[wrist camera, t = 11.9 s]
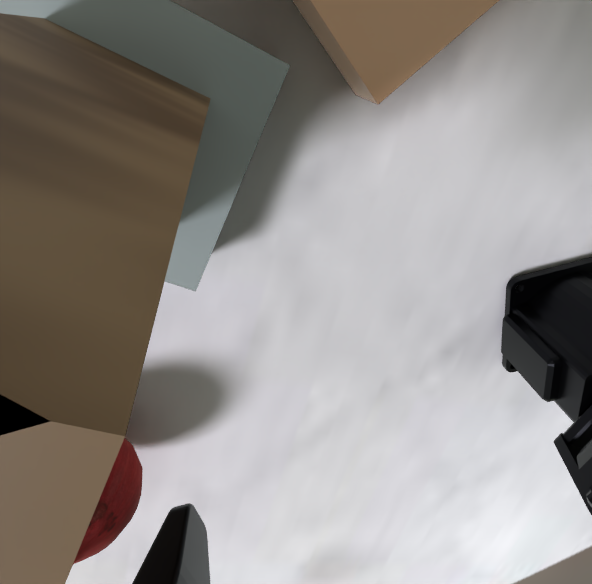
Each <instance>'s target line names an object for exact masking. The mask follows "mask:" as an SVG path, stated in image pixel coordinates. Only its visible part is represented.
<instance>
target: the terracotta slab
mask: <svg viewBox="0 0 592 584" xmlns="http://www.w3.org/2000/svg"><path fill="white" fill-rule="evenodd" d="M292 1H293V2H294V4H295V5H296V7H297V8H298V10H299V11H300V13H301V14H302V16H303V17H304V19H305V20H306V22H307V23H308V25H309V26H310V28H311V29H312V31H313V32H314V34H315V35H316V37H317V38H318V40H319V41H320V43H321V44H322V46H323V47H324V49H325V50H326V51H327V53H328V54H329V56H330V57H331V59H332V60H333V62H334V63H335V65H336V66H337V68H338V69H339V71H340V72H341V74H342V75H343V77H344V78H345V80H346V81H347V83H348V84H349V86H350V87H351V89H352V90H353V92H354V93H355V95H357V96H359V97H361V98H364V99H366V100H368V101H371V102H373V103H375V104H379V103H380V102H382V101H383V100H384V99H385V98H386V97H387V96H389V95H390V94H391V93H392V92H393V91H394V90H396V89H397V88H398V87H399V86H400V85H401V84H402V83H404V82H405V81H406V80H407V79H408V78H409V77H411V76H412V75H413V74H414V73H415V72H416V71H418V70H419V69H420V68H421V67H422V66H423V65H425V64H426V63H427V62H428V61H429V60H430V59H432V58H433V57H434V56H435V55H436V54H437V53H439V52H440V51H441V50H442V49H443V48H444V47H446V46H447V45H448V44H449V43H450V42H451V41H452V40H454V39H455V38H456V37H457V36H458V35H459V34H461V33H462V32H463V31H464V30H465V29H466V28H468V27H469V26H470V25H471V24H472V23H473V22H475V21H476V20H477V19H478V18H479V17H480V16H482V15H483V14H484V13H485V12H486V11H487V10H489V9H490V8H491V7H492V6H493V5H494V4H495V3H497V2H498V1H499V0H292Z"/></svg>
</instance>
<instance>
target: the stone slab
mask: <svg viewBox="0 0 592 584" xmlns="http://www.w3.org/2000/svg"><path fill="white" fill-rule="evenodd" d="M0 13H2V14H11V15H20V16H28V17H37V18H45V19H47V20H49V21H51V22H53V23H55V24H57V25H59V26H61V27H63V28H65V29H68V30H70V31H72V32H74V33H76V34H78V35H80V36H82V37H84V38H86V39H88V40H90V41H92V42H94V43H96V44H99V45H101V46H103V47H105V48H107V49H109V50H111V51H113V52H115V53H117V54H119V55H121V56H123V57H125V58H128V59H130V60H132V61H134V62H136V63H138V64H140V65H142V66H144V67H146V68H148V69H150V70H152V71H154V72H156V73H159V74H161V75H163V76H165V77H167V78H169V79H171V80H173V81H175V82H177V83H179V84H181V85H183V86H185V87H188V88H190V89H192V90H194V91H196V92H198V93H200V94H202V95H204V96H206V97H208V98H210V103H209V107H208V111H207V115H206V119H205V123H204V127H203V131H202V135H201V139H200V143H199V146H198V150H197V154H196V158H195V162H194V166H193V170H192V174H191V178H190V182H189V186H188V190H187V194H186V198H185V202H184V206H183V210H182V214H181V218H180V222H179V226H178V229H177V233H176V237H175V241H174V245H173V249H172V253H171V257H170V261H169V265H168V269H167V273H166V277H165V282H168V283H171V284H174V285H177V286H180V287H184V288H187V289H190V290H193V291H196V289H197V287H198V284H199V282H200V280H201V277H202V275H203V272H204V270H205V268H206V265H207V263H208V261H209V258H210V256H211V253H212V251H213V249H214V246H215V244H216V241H217V239H218V237H219V234H220V232H221V230H222V227H223V225H224V222H225V220H226V218H227V215H228V213H229V210H230V208H231V206H232V203H233V201H234V198H235V196H236V194H237V191H238V189H239V187H240V184H241V182H242V179H243V177H244V175H245V172H246V170H247V167H248V165H249V163H250V160H251V158H252V155H253V153H254V151H255V148H256V146H257V144H258V141H259V139H260V136H261V134H262V132H263V129H264V127H265V124H266V122H267V120H268V117H269V115H270V112H271V110H272V108H273V105H274V103H275V101H276V98H277V96H278V93H279V91H280V89H281V86H282V84H283V81H284V79H285V77H286V74H287V72H288V69H289V67H290V65H288V64H287V63H285V62H283V61H281V60H279V59H277V58H275V57H274V56H272V55H270V54H268V53H266V52H264V51H263V50H261V49H259V48H257V47H255V46H253V45H251V44H250V43H248V42H246V41H244V40H242V39H240V38H239V37H237V36H235V35H233V34H231V33H229V32H227V31H226V30H224V29H222V28H220V27H218V26H216V25H215V24H213V23H211V22H209V21H207V20H205V19H203V18H202V17H200V16H198V15H196V14H194V13H192V12H191V11H189V10H187V9H185V8H183V7H181V6H179V5H178V4H176V3H174V2H172V1H170V0H0Z"/></svg>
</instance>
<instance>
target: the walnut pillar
mask: <svg viewBox="0 0 592 584" xmlns="http://www.w3.org/2000/svg"><path fill="white" fill-rule="evenodd" d="M209 103H210V98H208V97H206V96H204V95H202V94H200V93H198V92H196V91H194V90H192V89H190V88H188V87H185V86H183V85H181V84H179V83H177V82H175V81H173V80H171V79H169V78H167V77H165V76H163V75H161V74H159V73H156V72H154V71H152V70H150V69H148V68H146V67H144V66H142V65H140V64H138V63H136V62H134V61H132V60H130V59H128V58H125V57H123V56H121V55H119V54H117V53H115V52H113V51H111V50H109V49H107V48H105V47H103V46H101V45H99V44H96V43H94V42H92V41H90V40H88V39H86V38H84V37H82V36H80V35H78V34H76V33H74V32H72V31H70V30H68V29H65V28H63V27H61V26H59V25H57V24H55V23H53V22H51V21H49V20H47V19H45V18H37V17H28V16H20V15H11V14H2V13H0V584H65V582H66V580H67V577H68V575H69V572H70V570H71V568H72V565H73V563H74V560H75V558H76V555H77V553H78V550H79V548H80V546H81V543H82V541H83V538H84V536H85V533H86V531H87V528H88V526H89V524H90V521H91V519H92V516H93V514H94V511H95V509H96V506H97V504H98V502H99V499H100V497H101V494H102V492H103V489H104V487H105V484H106V482H107V479H108V477H109V475H110V472H111V470H112V467H113V465H114V462H115V460H116V457H117V455H118V453H119V450H120V448H121V445H122V443H123V440H124V438H125V435H126V431H127V427H128V423H129V419H130V415H131V411H132V407H133V403H134V399H135V395H136V391H137V388H138V384H139V380H140V376H141V372H142V368H143V364H144V360H145V356H146V352H147V348H148V344H149V340H150V336H151V332H152V328H153V324H154V320H155V316H156V312H157V308H158V305H159V301H160V297H161V293H162V289H163V285H164V281H165V277H166V273H167V269H168V265H169V261H170V257H171V253H172V249H173V245H174V241H175V237H176V233H177V229H178V226H179V222H180V218H181V214H182V210H183V206H184V202H185V198H186V194H187V190H188V186H189V182H190V178H191V174H192V170H193V166H194V162H195V158H196V154H197V150H198V146H199V143H200V139H201V135H202V131H203V127H204V123H205V119H206V115H207V111H208V107H209Z"/></svg>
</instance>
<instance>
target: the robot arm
mask: <svg viewBox="0 0 592 584" xmlns="http://www.w3.org/2000/svg"><path fill="white" fill-rule="evenodd" d="M518 285H519V287H518V288H516V287H517V286H518ZM515 288H516V289H515ZM501 352H502V354H503V360H502V364H503V367H504V368H505V369H506V370H507V371H508V372H515V371H518V372H519V373H520V374H521V375H522V376H523V378H524V379H525V380H526V381H527V382H528V383H529V384H530V386H531V387H532V388H533V389H534V390H535V391H536V392H537V393H538V395H539V396H540V397H541V398H542V399H544V400H545V401H547V402H550V401H555V402H556V403H557V404H558V406H559V407H560V408H561V409H562V410H563V411H564V412H565V413H566V414H567V415H568V417H569V418H570V419H571V420H572V421H573V422H574V423H573V424H572V425H571V426H570V427H569V428H568V430H567V431H566V432H565V433H564V434H563V433H561V434H560V435H559V436H558V437H557V438H556V439H555V440H554V444H555V446H556V447H557V449H558V451H559V453H560V455H561V457H562V459H563V461H564V463H565V465H566V467H567V469H568V471H569V473H570V475H571V477H572V479H573V481H574V483H575V485H576V487H577V488H578V490H579V492H580V494H581V496H582V498H583V500H584V502H585V504H586V506H587V508H588V510H589V512H590V513H591V515H592V257H591V258H587V259H583V260H579V261H576V262H572V263H568V264H564V265H560V266H556V267H552V268H549V269H545V270H541V271H537V272H533V273H529V274H526V275H522V276H518V277H515V278H512V279H511V280H510V281H509V282H508V284H507V287H506V303H505V316H504V318H503V326H502V346H501ZM132 584H210V572H209V557H208V542H207V532H206V528H205V525H204V523H203V521H202V519H201V518H200V516H199V514H198V513H197V511H196V509H195V507H194V506H193V505H192V504H190V503H189V504H185V505H181V506H177V507H174V508H172V509H171V510H170V512H169V513H168V515H167V517H166V519H165V521H164V523H163V525H162V527H161V529H160V531H159V533H158V535H157V537H156V539H155V540H154V542H153V544H152V546H151V548H150V550H149V552H148V554H147V556H146V558H145V560H144V562H143V564H142V566H141V568H140V570H139V572H138V574H137V576H136V577H135V579H134V581H133V583H132Z"/></svg>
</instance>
